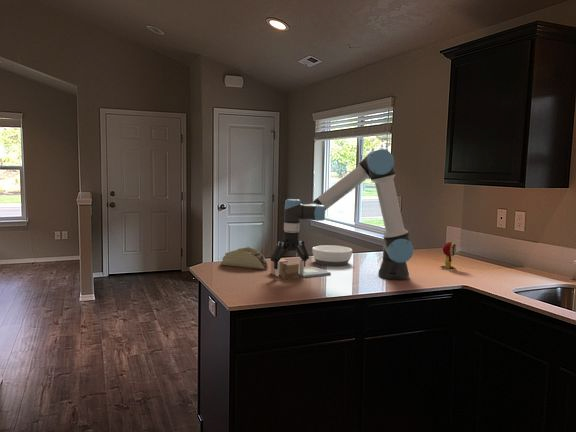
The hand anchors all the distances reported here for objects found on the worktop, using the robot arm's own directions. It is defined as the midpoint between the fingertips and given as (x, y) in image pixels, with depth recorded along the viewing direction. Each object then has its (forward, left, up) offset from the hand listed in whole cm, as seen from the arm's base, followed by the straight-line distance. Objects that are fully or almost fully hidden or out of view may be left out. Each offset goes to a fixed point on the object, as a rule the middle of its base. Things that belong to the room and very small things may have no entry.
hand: (289, 274), depth 242 cm
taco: (+30, +10, -2) cm, 32 cm away
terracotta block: (+9, +1, -2) cm, 9 cm away
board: (+4, -14, -1) cm, 15 cm away
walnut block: (0, 0, -2) cm, 2 cm away
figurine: (-15, -92, -2) cm, 93 cm away
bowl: (+22, -40, -2) cm, 46 cm away
